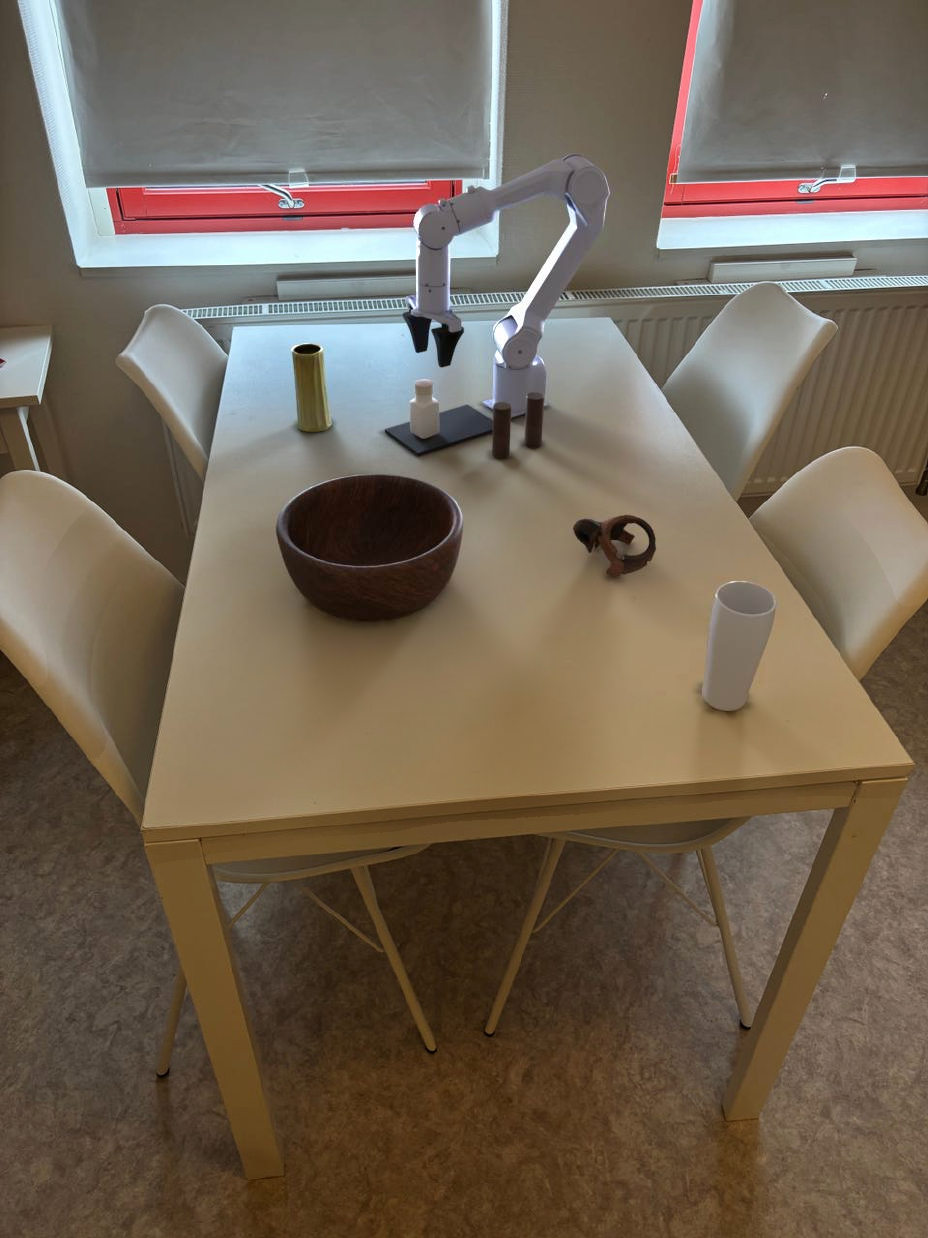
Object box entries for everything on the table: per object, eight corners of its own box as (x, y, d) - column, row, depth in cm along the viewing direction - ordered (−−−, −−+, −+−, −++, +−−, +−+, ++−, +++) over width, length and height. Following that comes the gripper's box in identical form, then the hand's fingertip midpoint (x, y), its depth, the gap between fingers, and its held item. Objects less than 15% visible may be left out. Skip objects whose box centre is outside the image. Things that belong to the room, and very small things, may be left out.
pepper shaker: (423, 440, 167) (422, 389, 161) (409, 432, 169) (407, 381, 164) (440, 433, 169) (440, 382, 163) (426, 426, 171) (425, 375, 166)
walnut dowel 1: (502, 448, 166) (504, 400, 161) (513, 455, 164) (514, 406, 159) (488, 453, 165) (489, 404, 159) (498, 460, 163) (500, 411, 157)
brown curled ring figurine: (649, 545, 143) (667, 518, 135) (635, 599, 139) (653, 575, 131) (573, 519, 143) (587, 491, 135) (556, 572, 139) (570, 547, 131)
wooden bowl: (264, 554, 140) (255, 492, 133) (424, 519, 148) (423, 459, 141) (312, 655, 121) (304, 588, 115) (492, 608, 129) (494, 544, 123)
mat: (467, 407, 179) (467, 404, 179) (502, 429, 172) (502, 426, 172) (384, 432, 171) (384, 428, 171) (418, 456, 164) (418, 453, 163)
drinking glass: (688, 681, 118) (707, 581, 109) (742, 678, 118) (765, 578, 109) (703, 719, 112) (725, 617, 103) (760, 716, 113) (786, 614, 104)
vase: (334, 418, 175) (328, 342, 166) (327, 433, 170) (320, 356, 162) (301, 416, 176) (293, 341, 167) (293, 431, 171) (285, 354, 162)
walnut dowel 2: (534, 438, 169) (536, 390, 164) (545, 444, 167) (548, 396, 162) (520, 442, 168) (523, 394, 162) (531, 449, 166) (533, 400, 160)
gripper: (390, 273, 166) (392, 349, 174) (437, 298, 156) (436, 377, 164) (424, 267, 169) (424, 342, 177) (472, 290, 159) (470, 368, 168)
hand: (432, 358), depth 171 cm, fingers open, 7 cm apart
